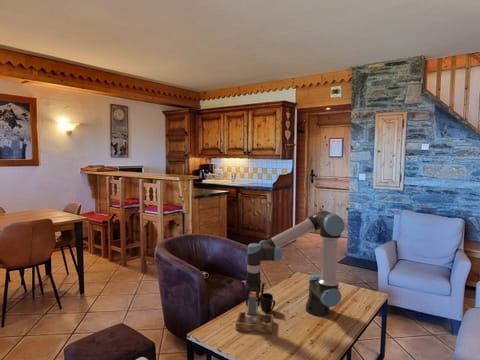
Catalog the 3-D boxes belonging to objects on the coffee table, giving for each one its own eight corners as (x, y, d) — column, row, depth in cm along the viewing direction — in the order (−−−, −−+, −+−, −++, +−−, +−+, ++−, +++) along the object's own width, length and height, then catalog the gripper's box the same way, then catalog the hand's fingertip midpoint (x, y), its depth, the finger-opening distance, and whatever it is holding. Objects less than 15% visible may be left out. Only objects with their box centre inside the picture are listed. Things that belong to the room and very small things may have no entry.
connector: (256, 310, 188) (256, 292, 187) (255, 313, 184) (256, 294, 183) (249, 310, 188) (250, 291, 188) (248, 313, 184) (249, 294, 184)
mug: (268, 317, 197) (269, 301, 196) (256, 309, 207) (257, 294, 206) (279, 313, 201) (279, 298, 201) (266, 306, 211) (267, 291, 211)
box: (273, 321, 192) (273, 309, 191) (271, 334, 178) (271, 321, 177) (239, 318, 195) (239, 306, 194) (235, 330, 181) (235, 317, 181)
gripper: (269, 270, 187) (268, 309, 188) (239, 267, 190) (239, 306, 191) (268, 274, 179) (267, 315, 181) (237, 272, 182) (236, 312, 184)
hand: (252, 311), depth 186 cm, fingers closed on connector, 4 cm apart
